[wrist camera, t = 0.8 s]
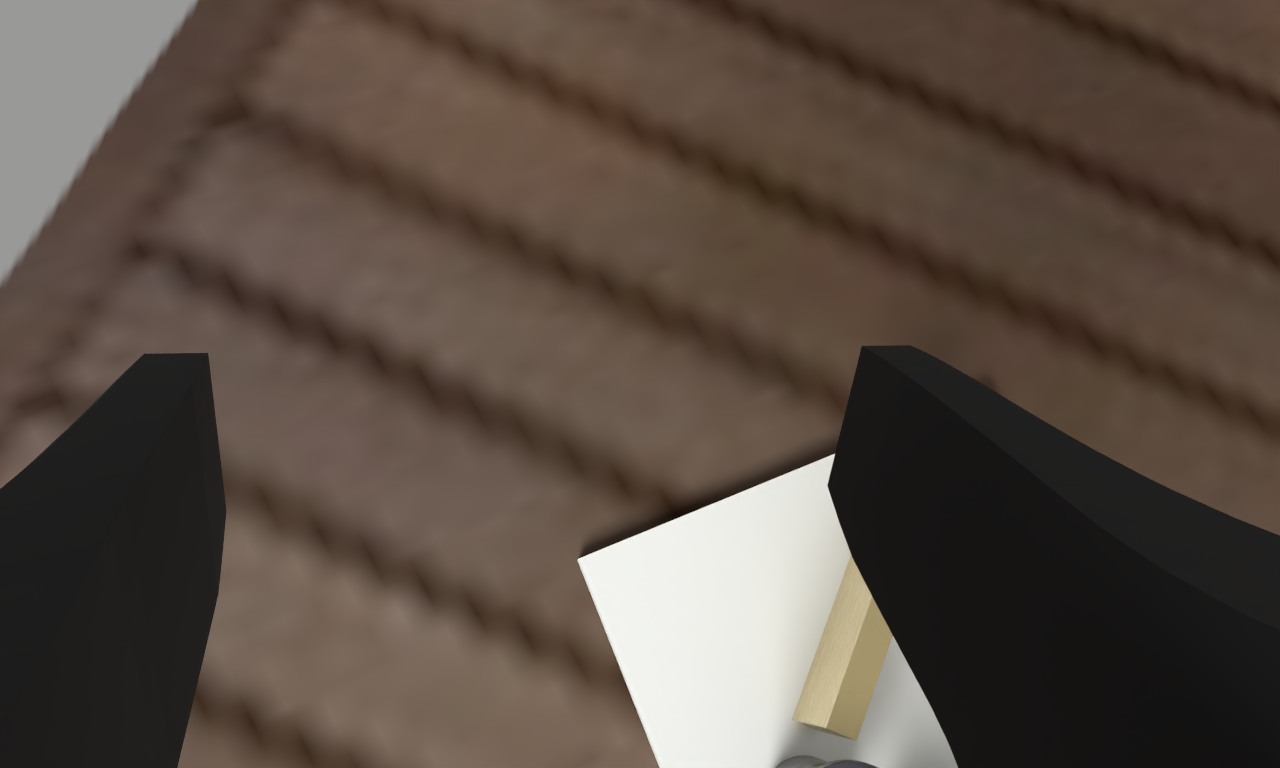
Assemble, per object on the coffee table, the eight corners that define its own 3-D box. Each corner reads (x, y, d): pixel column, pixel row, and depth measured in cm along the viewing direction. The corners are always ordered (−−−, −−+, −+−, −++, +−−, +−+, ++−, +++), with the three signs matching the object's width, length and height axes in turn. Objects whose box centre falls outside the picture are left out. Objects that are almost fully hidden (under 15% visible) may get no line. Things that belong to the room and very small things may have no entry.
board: (1254, 942, 27) (1269, 948, 27) (817, 1165, 25) (822, 1177, 25) (982, 395, 30) (990, 390, 30) (577, 561, 29) (577, 559, 28)
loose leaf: (817, 730, 27) (856, 741, 23) (791, 719, 27) (826, 728, 24) (908, 474, 29) (958, 444, 25) (883, 464, 29) (930, 433, 25)
